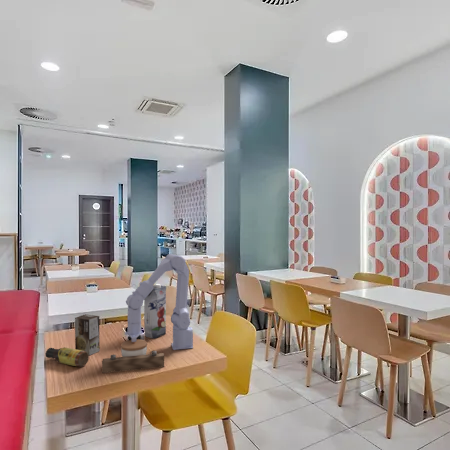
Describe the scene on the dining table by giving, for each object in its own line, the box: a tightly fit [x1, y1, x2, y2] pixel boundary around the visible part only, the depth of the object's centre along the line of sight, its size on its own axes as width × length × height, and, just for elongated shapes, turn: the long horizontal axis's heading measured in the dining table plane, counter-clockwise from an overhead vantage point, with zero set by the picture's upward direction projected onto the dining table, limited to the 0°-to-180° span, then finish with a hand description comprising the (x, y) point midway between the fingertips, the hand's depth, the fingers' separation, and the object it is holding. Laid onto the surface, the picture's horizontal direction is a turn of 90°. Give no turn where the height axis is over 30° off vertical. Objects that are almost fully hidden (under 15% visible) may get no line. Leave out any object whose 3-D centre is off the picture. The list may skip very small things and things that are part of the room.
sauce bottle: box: [44, 347, 90, 368], centre depth 141 cm, size 6×6×20 cm
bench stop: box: [101, 350, 165, 374], centre depth 136 cm, size 24×3×6 cm, turn 104°
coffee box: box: [74, 313, 101, 356], centre depth 154 cm, size 9×6×16 cm
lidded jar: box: [120, 339, 148, 357], centre depth 143 cm, size 11×11×9 cm
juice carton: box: [143, 283, 167, 339], centre depth 176 cm, size 9×10×27 cm
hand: (134, 352), depth 149 cm, fingers closed
